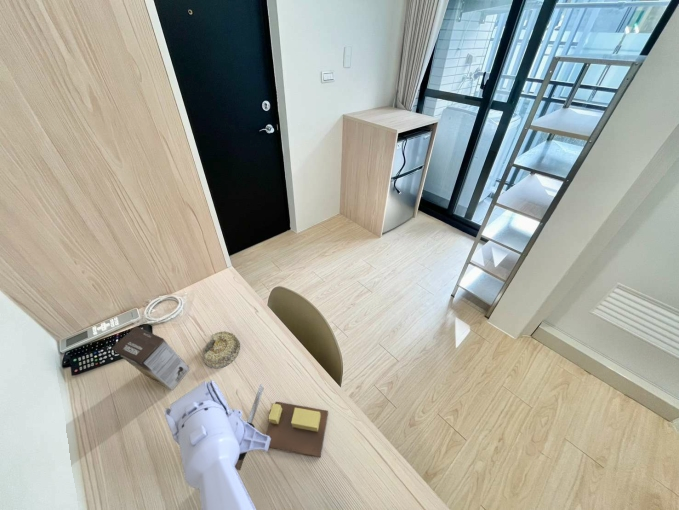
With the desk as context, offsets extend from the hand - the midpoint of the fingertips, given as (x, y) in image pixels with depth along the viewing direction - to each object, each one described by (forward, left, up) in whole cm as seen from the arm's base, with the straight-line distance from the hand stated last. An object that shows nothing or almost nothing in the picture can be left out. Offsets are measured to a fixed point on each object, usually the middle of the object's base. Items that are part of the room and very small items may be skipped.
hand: (240, 446), depth 53 cm
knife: (+4, 0, -2) cm, 4 cm away
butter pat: (+8, -4, -7) cm, 11 cm away
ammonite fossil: (+21, +17, -8) cm, 29 cm away
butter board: (+6, -9, -8) cm, 14 cm away
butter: (+8, -11, -7) cm, 15 cm away
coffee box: (+13, +28, -8) cm, 32 cm away
